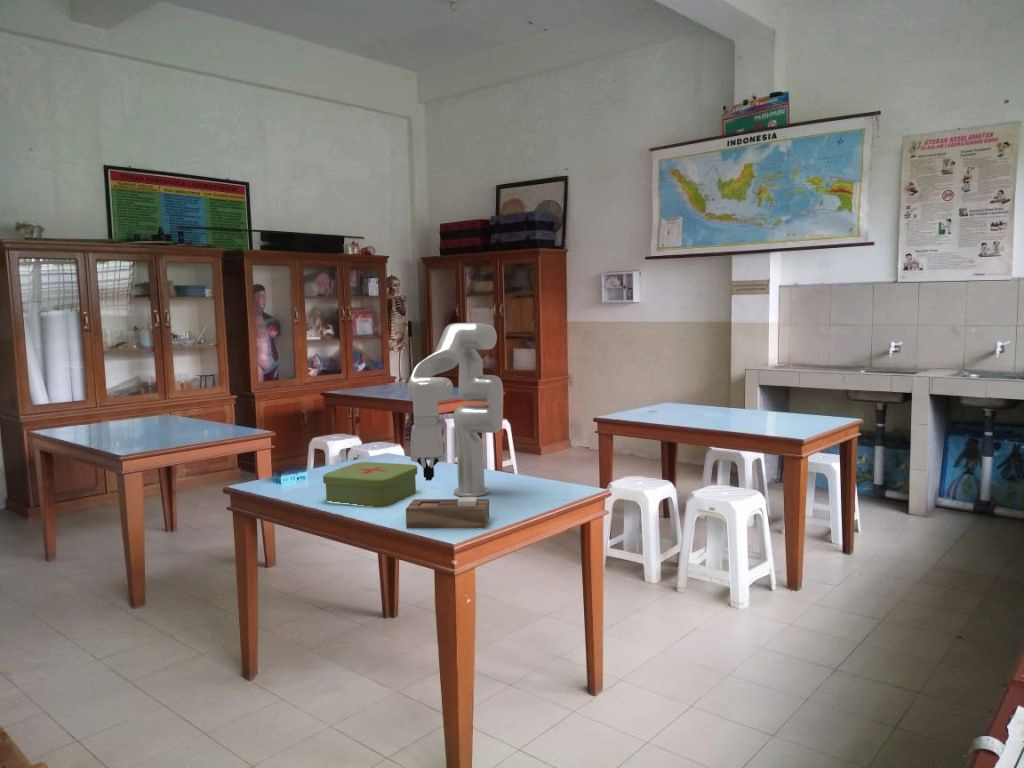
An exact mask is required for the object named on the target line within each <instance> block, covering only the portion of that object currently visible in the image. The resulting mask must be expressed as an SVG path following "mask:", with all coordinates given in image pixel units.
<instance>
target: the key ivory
mask: <svg viewBox="0 0 1024 768" xmlns="http://www.w3.org/2000/svg"><path fill="white" fill-rule="evenodd" d="M458 499H459V500H458V501H457V503H458V506H477V499H478V496H475V497H464V496H459V498H458Z"/></svg>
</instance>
